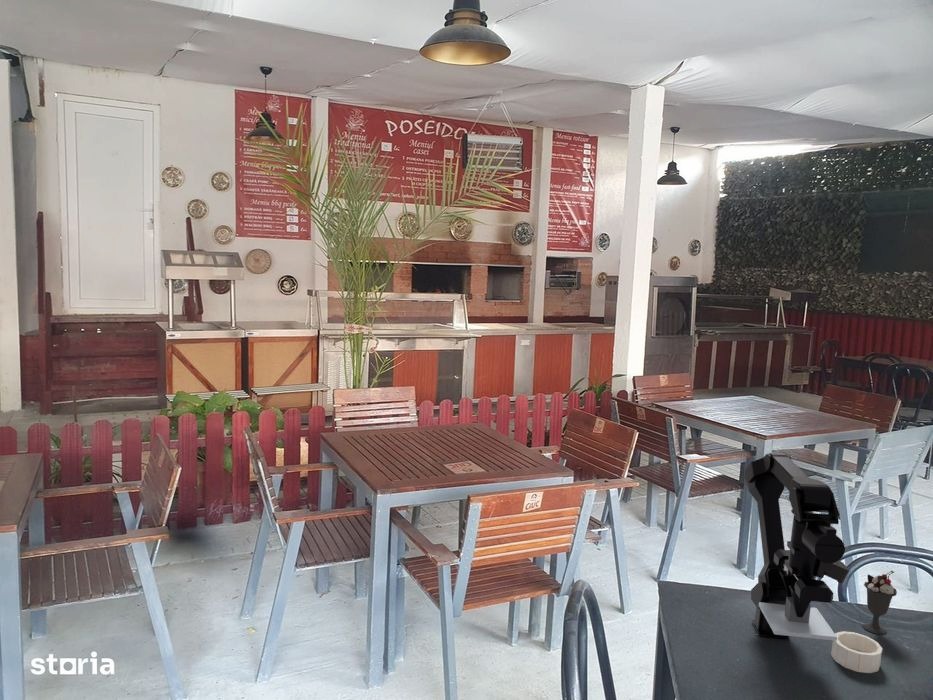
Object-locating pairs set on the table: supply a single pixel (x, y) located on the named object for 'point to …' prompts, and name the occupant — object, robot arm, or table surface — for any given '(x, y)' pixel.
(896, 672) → the table surface
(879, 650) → the bowl
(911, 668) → the table surface
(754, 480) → the robot arm
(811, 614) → the lid
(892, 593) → the sundae
